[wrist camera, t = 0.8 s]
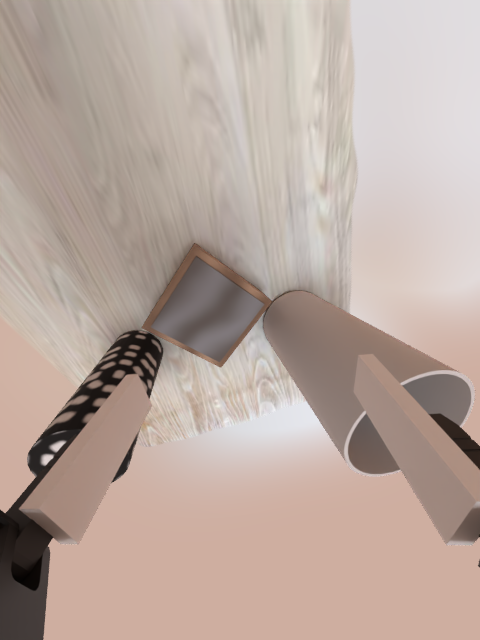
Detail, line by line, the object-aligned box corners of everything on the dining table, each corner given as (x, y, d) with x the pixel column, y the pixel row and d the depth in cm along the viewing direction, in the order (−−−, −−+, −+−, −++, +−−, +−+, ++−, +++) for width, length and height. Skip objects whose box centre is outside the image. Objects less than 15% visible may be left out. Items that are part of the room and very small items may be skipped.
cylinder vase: (261, 351, 42) (334, 488, 19) (262, 292, 37) (360, 383, 15) (318, 344, 44) (443, 461, 21) (325, 287, 39) (499, 360, 16)
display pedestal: (150, 313, 35) (140, 329, 29) (194, 243, 32) (193, 244, 26) (218, 349, 40) (221, 369, 34) (261, 291, 37) (273, 302, 31)
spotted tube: (118, 325, 35) (28, 424, 17) (167, 336, 37) (137, 434, 19) (110, 365, 37) (25, 489, 19) (157, 373, 40) (122, 490, 22)
